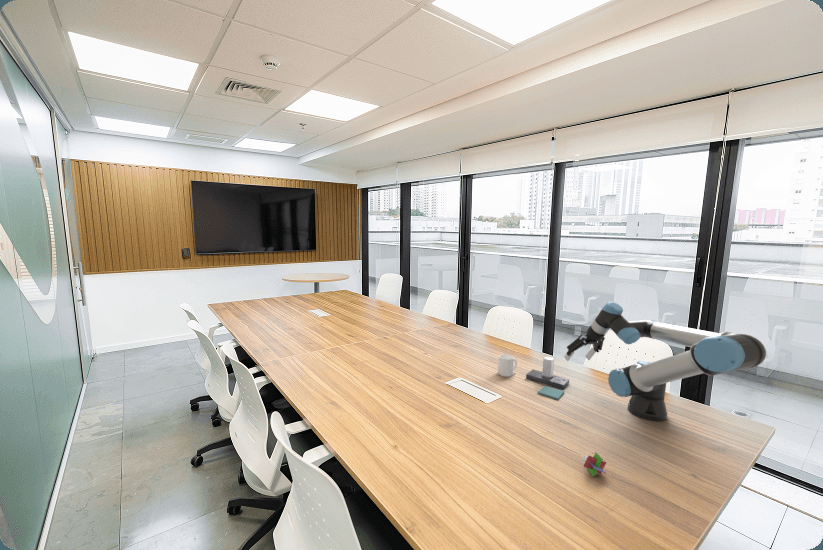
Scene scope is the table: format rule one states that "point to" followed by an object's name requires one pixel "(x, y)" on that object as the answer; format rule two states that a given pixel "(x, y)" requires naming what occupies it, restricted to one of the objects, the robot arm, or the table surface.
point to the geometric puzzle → (593, 464)
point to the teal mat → (551, 392)
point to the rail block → (555, 381)
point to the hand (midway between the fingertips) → (576, 358)
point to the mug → (506, 365)
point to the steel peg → (548, 367)
